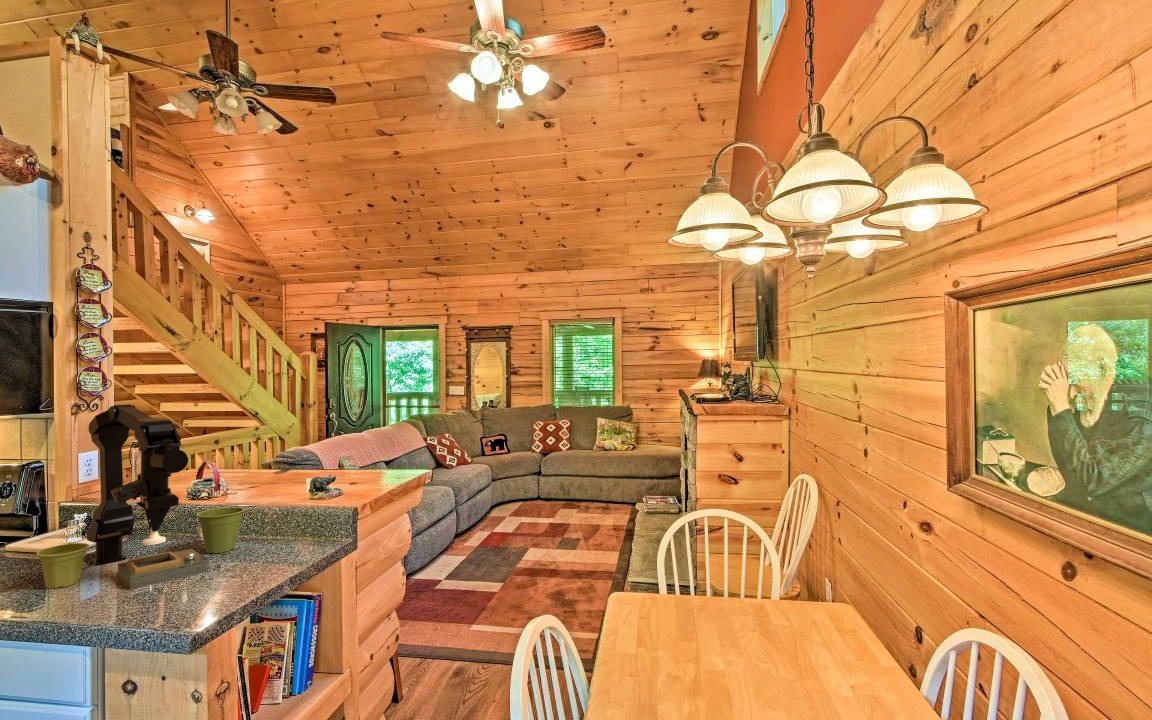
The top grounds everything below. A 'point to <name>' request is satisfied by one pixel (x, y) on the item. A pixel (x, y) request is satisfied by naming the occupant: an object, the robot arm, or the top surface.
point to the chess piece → (153, 538)
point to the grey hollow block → (161, 568)
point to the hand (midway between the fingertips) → (153, 530)
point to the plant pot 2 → (220, 528)
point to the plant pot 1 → (62, 564)
